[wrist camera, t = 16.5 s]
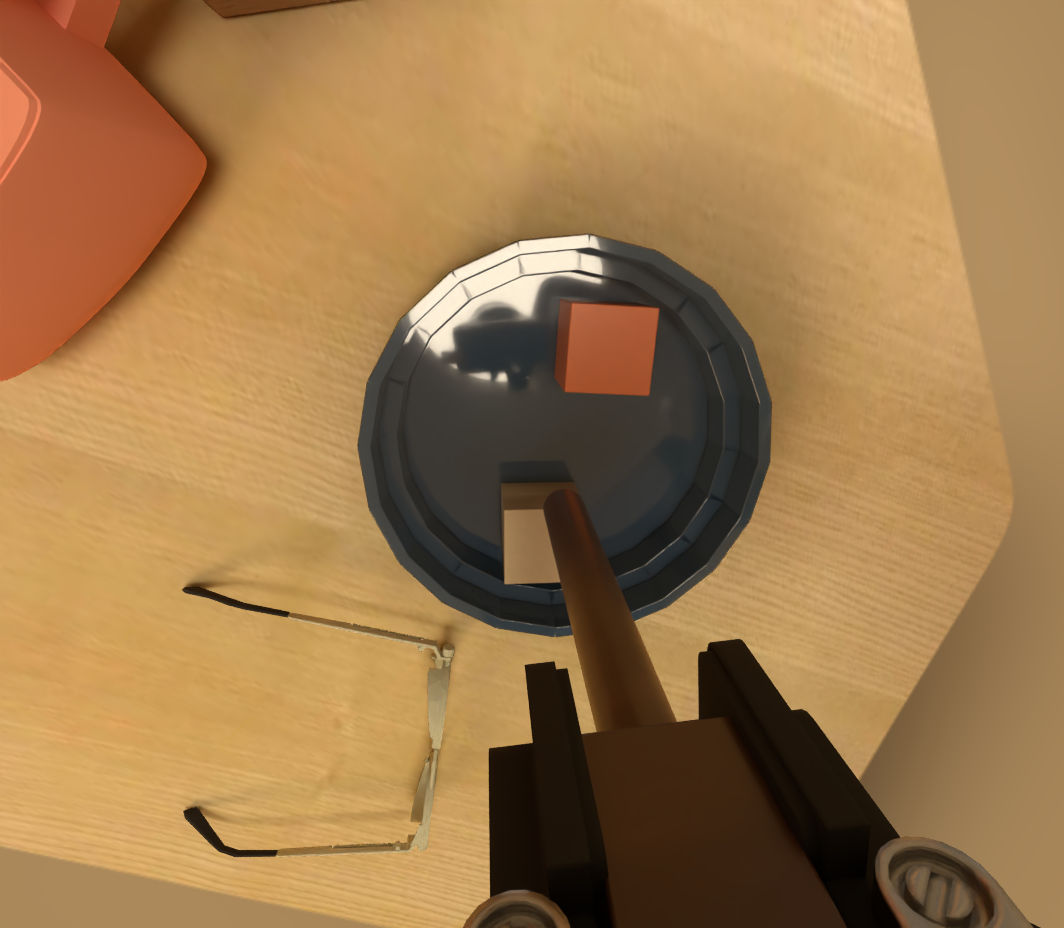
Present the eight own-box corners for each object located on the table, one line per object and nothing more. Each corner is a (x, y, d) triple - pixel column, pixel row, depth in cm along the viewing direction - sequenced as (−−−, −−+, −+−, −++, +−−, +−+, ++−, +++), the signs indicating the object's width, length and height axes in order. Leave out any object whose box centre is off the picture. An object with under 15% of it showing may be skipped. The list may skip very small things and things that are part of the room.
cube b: (574, 481, 34) (586, 508, 30) (572, 548, 35) (583, 582, 32) (500, 483, 34) (503, 509, 30) (501, 550, 35) (504, 584, 31)
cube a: (638, 302, 32) (660, 307, 28) (629, 381, 33) (649, 396, 29) (559, 298, 31) (571, 302, 27) (554, 378, 32) (564, 392, 29)
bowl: (731, 223, 31) (776, 215, 27) (730, 566, 37) (767, 610, 33) (346, 260, 30) (322, 258, 26) (406, 607, 36) (396, 658, 32)
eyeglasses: (428, 829, 41) (421, 902, 36) (185, 817, 39) (145, 893, 35) (459, 600, 36) (456, 650, 32) (184, 575, 35) (137, 623, 30)
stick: (596, 470, 21) (895, 1011, 6) (600, 535, 22) (876, 1172, 6) (525, 478, 21) (637, 1048, 6) (531, 543, 22) (644, 1206, 6)
